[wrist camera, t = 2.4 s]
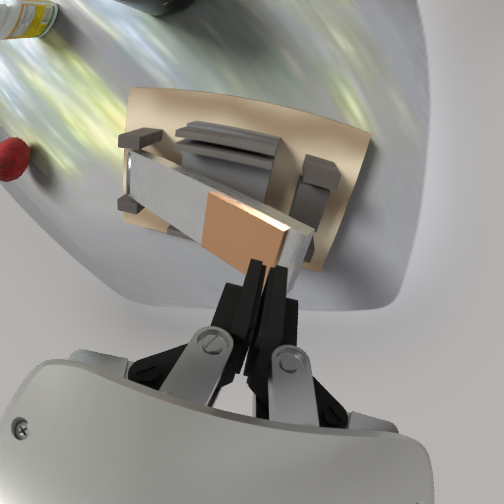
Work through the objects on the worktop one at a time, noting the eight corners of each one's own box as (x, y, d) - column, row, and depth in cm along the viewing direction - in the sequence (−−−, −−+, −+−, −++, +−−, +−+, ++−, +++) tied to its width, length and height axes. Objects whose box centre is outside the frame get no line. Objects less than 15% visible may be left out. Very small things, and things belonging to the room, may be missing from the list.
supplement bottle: (62, 15, 15) (3, 13, 7) (38, 45, 17) (-19, 51, 9) (54, -5, 13) (0, -9, 5) (31, 23, 15) (-22, 27, 7)
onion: (40, 132, 24) (-6, 150, 17) (41, 172, 27) (-1, 196, 20) (19, 130, 24) (-23, 147, 17) (20, 167, 27) (-19, 188, 20)
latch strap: (137, 146, 20) (122, 149, 19) (315, 228, 13) (303, 237, 12) (135, 190, 22) (121, 194, 21) (292, 288, 15) (280, 300, 14)
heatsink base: (141, 87, 21) (101, 89, 15) (365, 131, 20) (387, 142, 15) (132, 213, 28) (102, 241, 23) (319, 261, 28) (322, 301, 23)
